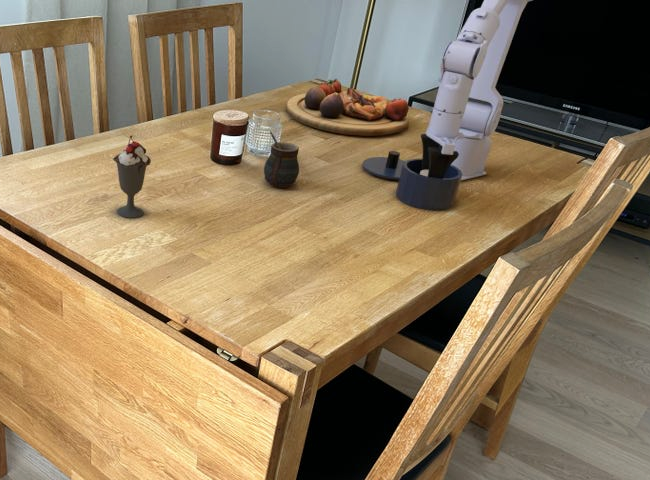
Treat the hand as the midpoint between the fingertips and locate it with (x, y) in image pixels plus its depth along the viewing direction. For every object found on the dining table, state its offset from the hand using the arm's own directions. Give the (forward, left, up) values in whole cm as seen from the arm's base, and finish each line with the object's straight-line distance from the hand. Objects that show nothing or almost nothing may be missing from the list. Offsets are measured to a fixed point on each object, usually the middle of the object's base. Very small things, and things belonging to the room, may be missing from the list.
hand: (430, 177), depth 146 cm
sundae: (+58, -20, -5) cm, 62 cm away
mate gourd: (+23, -19, -5) cm, 30 cm away
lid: (-5, -14, -4) cm, 15 cm away
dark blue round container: (0, 0, -4) cm, 4 cm away
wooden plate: (-24, -47, -5) cm, 53 cm away
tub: (0, 0, -4) cm, 4 cm away
